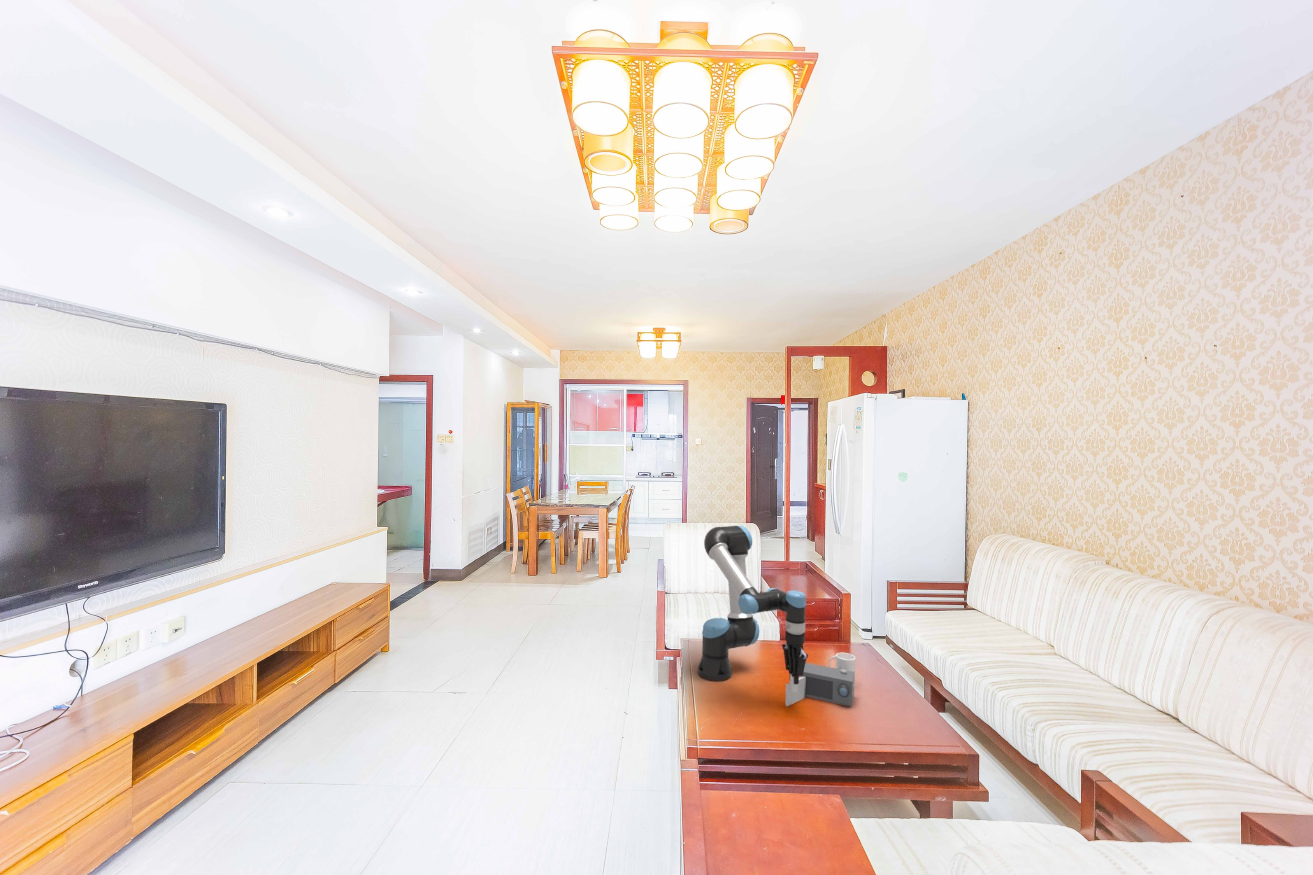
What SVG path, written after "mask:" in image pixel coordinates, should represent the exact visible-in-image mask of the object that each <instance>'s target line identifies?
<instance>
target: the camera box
mask: <svg viewBox="0 0 1313 875" xmlns="http://www.w3.org/2000/svg"><path fill="white" fill-rule="evenodd" d="M803 676H805V677H806V689H805V698H810V699H813V700H819V701H824V702H828V703H832V704H837V705H842V706H846V707H851V708H852V707H853V704H854V698H855V687H854V677H855V678H856V671H855V672H852V671H847V670H845V669H837V668H836V667H832V666H831V667H829V666H826V665H825V666H824V665H820V664H815V663H809V662H806V663H805V667H804V672H803V675H802V676H800V678H801V677H803Z"/></svg>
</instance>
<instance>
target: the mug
mask: <svg viewBox="0 0 1313 875" xmlns="http://www.w3.org/2000/svg"><path fill="white" fill-rule="evenodd" d="M833 659H835V668H837V669H845V670H847V671H852V672H855V673H856V656H855V655H853V654H851V653H847V652H837V653H836V654H835V655H833V656H831V657H830V658H829V659H828V667H831V668H832V666H831V660H833ZM855 687H856V676H855V677H854V688H855Z"/></svg>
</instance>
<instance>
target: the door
mask: <svg viewBox="0 0 1313 875" xmlns="http://www.w3.org/2000/svg"><path fill="white" fill-rule="evenodd" d="M805 689H806V677H805V676H803V677H801V676H800V677H799V683H798V691H796V692H791V691H790V681H789V682H788V683H785V702H784V703H785V706H786V707H790V706H791V705H793V704H795V703H797V702H799V701H802V700H804V699H806V697H805Z"/></svg>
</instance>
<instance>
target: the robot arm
mask: <svg viewBox="0 0 1313 875" xmlns="http://www.w3.org/2000/svg"><path fill="white" fill-rule="evenodd" d="M703 546H704V549H705V552H706V554H707V556H708V557H709V559H711V560H713V561H714V562H715V564H716V565H717V567H718V568H719V569H720V571H721V572H722V574H723V576H724V577H725V579H726V580H727V584H728V596H729V613H728V614H727V619H726V618H722V617H714V618H709V619H707V620H706V621H705V622H704V623H703V625H702V627H703V628H702V633H701V634H702V649H701V650H702V652H701V657H700V660H699V663H698V666H697V675H698V676H700V678H703V679H704V680H708V681H713V682H721V681H722V682H723V681H728V680H730V679H731V678H732V676H733V669H732V665H731V662H730V658H729V650H731V649H736V648H740V647H749V646H751V645H754V644H756V642H757V641H758V639H759V638H760V637H759V636H760V626H759V624H758V621H757V619H755V618H754V616H753V615H755V614H757V613H764V612H772V611H780V612H783V613H785V632H784V634H785V639H784V640H785V641H786V643H782V644H781V646H782V649H783V655H784V664H785V670H786V671H788V673H789V682H790V691H791V692H796V691H798V683H799V678H800V677H801V676H802V675H803V672H804V667H805V663H807V662H806V661H807V658H808V657H809V655H808V653H805V651H804V643H805V641H806V634H805V632H806V609H807V608H806V606H807V601H806V594H805V593H804V592H802V591H798V590H788V591H787V592H785V591H783V590H782V589H779V588H775V587H771V588H769V589H767V590H766V592H758V590H757V589H756V588H755V586H754V585H753V584H752V582H751V580H750V579H749V578H748V577H747V568H746V567H747V566H746V565H747V564H746V557H748V556H749V550H750V549H752V546H753V537H752V535H751V532H750V530H748V528H747V527H746V526H744V525H728V526H716V527H713V528H711V529H710V530H708V531H707V532H706V534H705V537H704V542H703Z"/></svg>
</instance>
